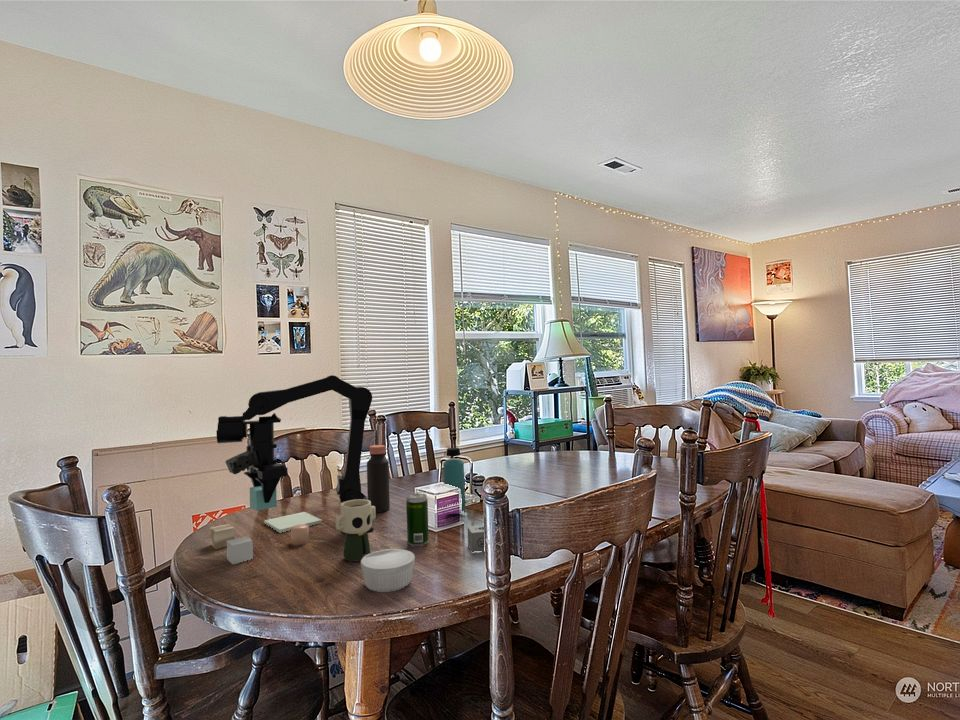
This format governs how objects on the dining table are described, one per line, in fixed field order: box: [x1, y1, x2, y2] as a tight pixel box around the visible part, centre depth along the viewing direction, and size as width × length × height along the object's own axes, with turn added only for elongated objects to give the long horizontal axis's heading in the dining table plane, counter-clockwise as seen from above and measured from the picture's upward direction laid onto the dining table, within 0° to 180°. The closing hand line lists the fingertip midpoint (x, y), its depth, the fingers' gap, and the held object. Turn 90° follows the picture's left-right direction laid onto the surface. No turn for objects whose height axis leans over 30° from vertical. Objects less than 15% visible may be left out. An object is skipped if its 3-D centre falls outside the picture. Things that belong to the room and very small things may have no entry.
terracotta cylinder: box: [290, 524, 310, 546], centre depth 131 cm, size 4×4×4 cm
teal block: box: [249, 486, 278, 512], centre depth 131 cm, size 5×5×5 cm
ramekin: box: [360, 548, 416, 593], centre depth 105 cm, size 11×11×5 cm
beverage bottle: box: [442, 447, 467, 512], centre depth 152 cm, size 6×7×20 cm
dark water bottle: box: [366, 444, 391, 513], centre depth 160 cm, size 7×7×20 cm
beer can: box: [405, 492, 429, 547], centre depth 128 cm, size 5×5×12 cm
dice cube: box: [467, 524, 485, 553], centre depth 123 cm, size 5×5×5 cm
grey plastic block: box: [226, 535, 254, 565], centre depth 121 cm, size 4×4×4 cm
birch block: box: [209, 523, 235, 550], centre depth 131 cm, size 4×4×4 cm
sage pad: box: [263, 511, 323, 534], centre depth 147 cm, size 12×12×1 cm
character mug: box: [334, 499, 377, 562], centre depth 119 cm, size 11×7×13 cm, turn 138°
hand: (263, 500), depth 131 cm, fingers closed on teal block, 5 cm apart
